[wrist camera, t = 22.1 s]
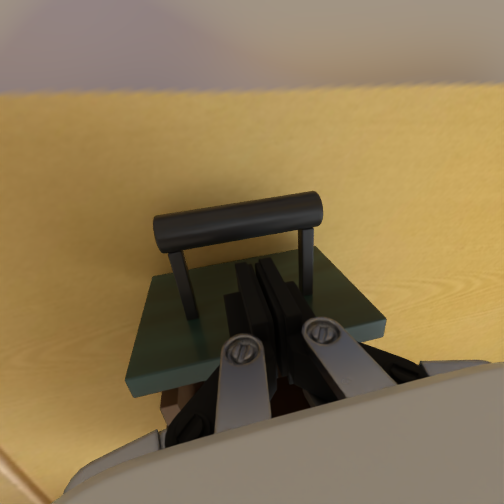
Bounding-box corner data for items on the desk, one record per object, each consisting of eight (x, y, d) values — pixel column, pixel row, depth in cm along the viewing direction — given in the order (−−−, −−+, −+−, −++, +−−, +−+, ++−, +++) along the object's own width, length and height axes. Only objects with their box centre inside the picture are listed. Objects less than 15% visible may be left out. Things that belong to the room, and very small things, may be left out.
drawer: (124, 195, 14) (61, 261, 7) (316, 167, 16) (410, 201, 9) (191, 393, 23) (190, 510, 16) (313, 363, 24) (360, 458, 17)
